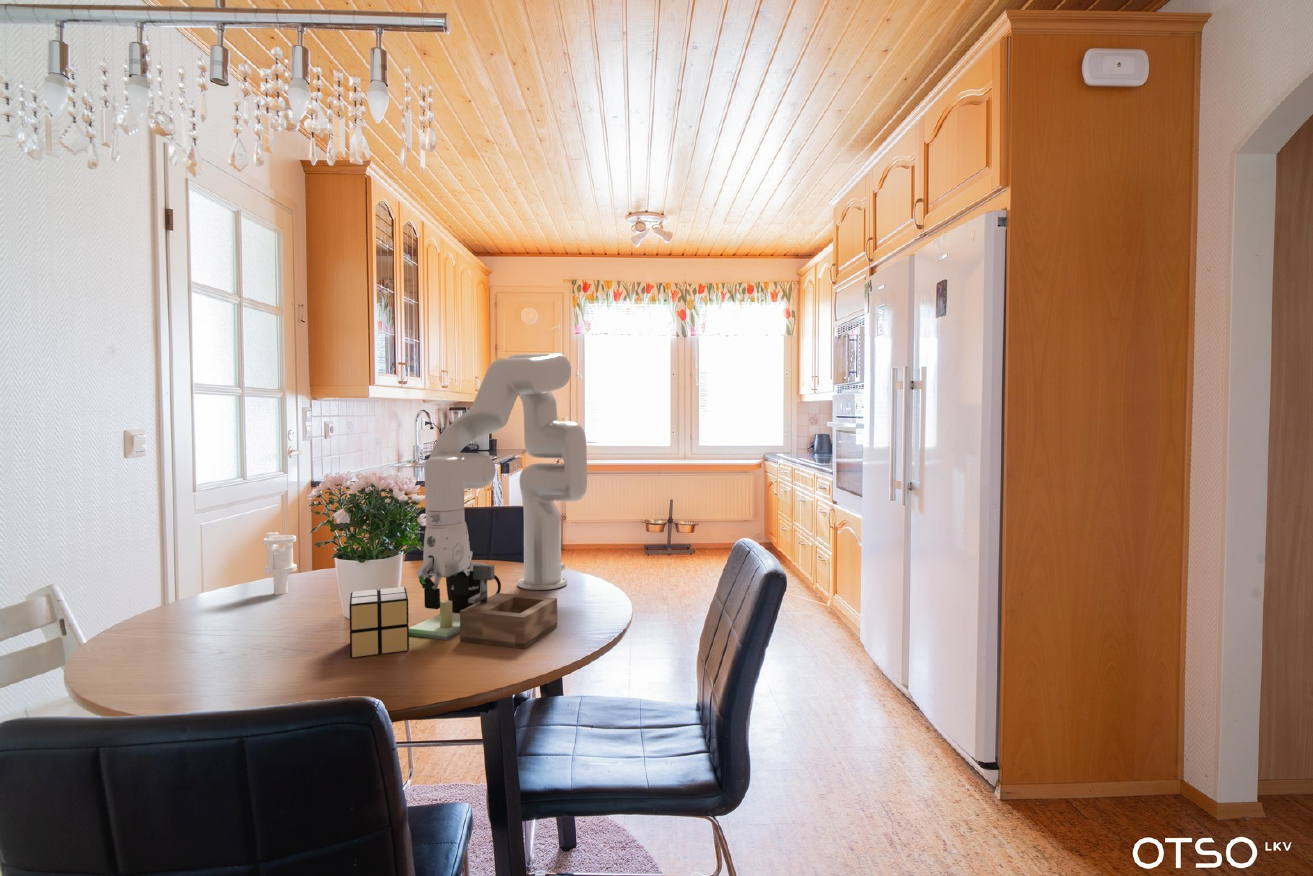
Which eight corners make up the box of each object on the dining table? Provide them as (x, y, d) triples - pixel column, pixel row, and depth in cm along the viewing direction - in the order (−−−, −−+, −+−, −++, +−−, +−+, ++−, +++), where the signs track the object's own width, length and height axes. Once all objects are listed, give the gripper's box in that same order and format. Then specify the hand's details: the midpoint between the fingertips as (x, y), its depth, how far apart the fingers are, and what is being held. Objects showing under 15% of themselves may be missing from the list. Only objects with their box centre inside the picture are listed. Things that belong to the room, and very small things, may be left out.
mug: (442, 617, 146) (442, 571, 146) (449, 606, 155) (449, 562, 155) (499, 615, 148) (498, 569, 148) (502, 604, 157) (502, 561, 157)
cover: (444, 615, 147) (444, 589, 146) (480, 619, 144) (480, 592, 144) (408, 632, 135) (407, 603, 135) (446, 636, 132) (446, 607, 132)
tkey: (494, 601, 137) (494, 565, 137) (480, 608, 132) (480, 571, 132) (476, 599, 138) (476, 564, 138) (462, 607, 133) (462, 570, 132)
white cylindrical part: (279, 588, 171) (278, 530, 170) (303, 590, 169) (302, 531, 169) (257, 596, 164) (256, 534, 164) (282, 597, 163) (281, 535, 162)
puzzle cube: (351, 642, 131) (350, 591, 130) (406, 635, 135) (405, 586, 134) (350, 659, 121) (349, 604, 121) (409, 651, 125) (408, 598, 125)
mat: (442, 616, 147) (442, 614, 147) (482, 620, 144) (482, 619, 144) (403, 635, 135) (403, 633, 135) (446, 640, 132) (446, 638, 132)
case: (497, 620, 144) (497, 593, 144) (557, 626, 140) (557, 598, 140) (460, 641, 131) (459, 610, 131) (524, 649, 127) (524, 617, 127)
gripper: (435, 526, 127) (437, 615, 127) (484, 511, 143) (486, 591, 144) (401, 524, 129) (403, 612, 130) (454, 510, 145) (455, 588, 146)
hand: (447, 601), depth 137 cm, fingers open, 9 cm apart
